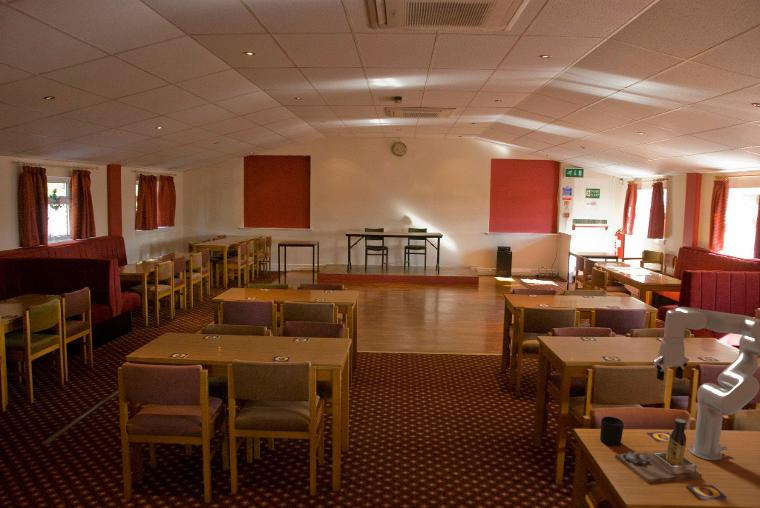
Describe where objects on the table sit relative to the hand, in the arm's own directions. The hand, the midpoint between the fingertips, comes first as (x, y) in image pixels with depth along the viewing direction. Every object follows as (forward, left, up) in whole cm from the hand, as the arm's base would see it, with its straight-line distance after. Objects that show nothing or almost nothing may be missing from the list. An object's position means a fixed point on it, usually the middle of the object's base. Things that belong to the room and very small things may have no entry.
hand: (669, 378), depth 236 cm
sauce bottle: (+2, +11, -34) cm, 35 cm away
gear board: (+9, +9, -35) cm, 37 cm away
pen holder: (+14, -15, -35) cm, 41 cm away
